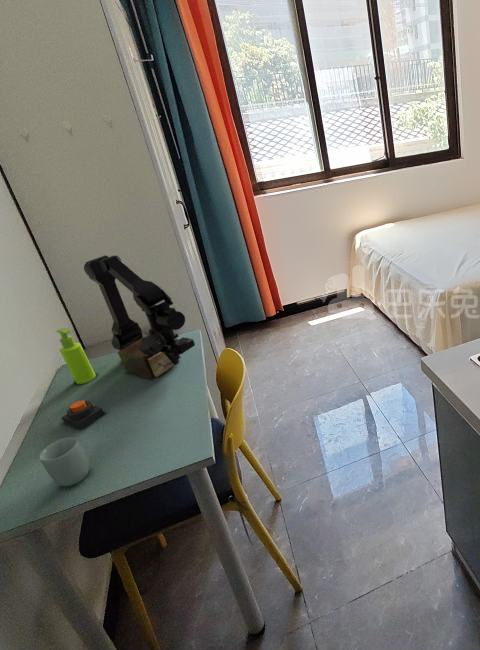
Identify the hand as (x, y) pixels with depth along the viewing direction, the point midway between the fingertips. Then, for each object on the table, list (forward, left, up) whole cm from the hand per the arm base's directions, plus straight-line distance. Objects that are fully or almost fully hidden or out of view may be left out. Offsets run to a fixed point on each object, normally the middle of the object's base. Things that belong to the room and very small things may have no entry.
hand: (176, 364), depth 149 cm
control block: (-10, -27, -4) cm, 29 cm away
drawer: (-9, 0, -3) cm, 10 cm away
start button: (-10, -27, 0) cm, 28 cm away
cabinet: (-14, 0, -4) cm, 15 cm away
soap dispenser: (-32, -13, -4) cm, 35 cm away
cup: (+13, -43, -4) cm, 45 cm away
